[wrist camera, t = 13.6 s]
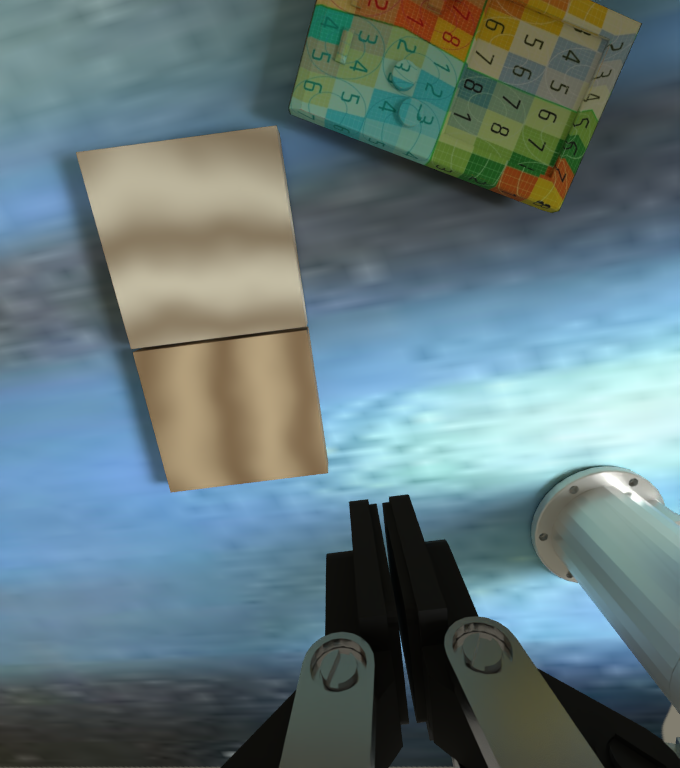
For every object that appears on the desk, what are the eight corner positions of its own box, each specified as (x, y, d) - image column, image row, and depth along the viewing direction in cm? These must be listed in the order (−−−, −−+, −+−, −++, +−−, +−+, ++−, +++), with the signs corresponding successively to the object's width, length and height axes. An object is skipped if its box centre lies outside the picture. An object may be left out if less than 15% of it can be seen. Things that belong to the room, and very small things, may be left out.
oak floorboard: (308, 326, 35) (306, 330, 33) (328, 462, 38) (328, 472, 37) (143, 347, 35) (132, 352, 33) (178, 480, 39) (170, 492, 37)
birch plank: (307, 322, 35) (306, 326, 33) (142, 343, 35) (131, 348, 33) (279, 133, 31) (276, 125, 29) (91, 158, 31) (76, 152, 29)
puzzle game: (345, -125, 23) (653, 15, 26) (342, -63, 28) (604, 52, 30) (286, 102, 27) (566, 209, 29) (293, 125, 31) (534, 216, 33)
